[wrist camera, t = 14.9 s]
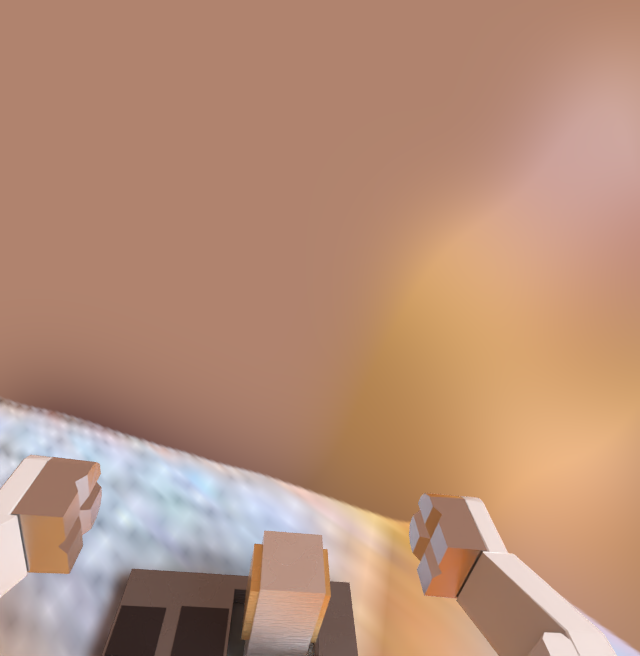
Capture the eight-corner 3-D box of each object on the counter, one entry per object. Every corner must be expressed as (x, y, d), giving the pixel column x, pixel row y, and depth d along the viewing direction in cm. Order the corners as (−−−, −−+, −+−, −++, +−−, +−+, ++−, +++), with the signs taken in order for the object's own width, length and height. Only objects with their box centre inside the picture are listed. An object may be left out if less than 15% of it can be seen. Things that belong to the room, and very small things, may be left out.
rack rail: (84, 722, 30) (82, 708, 29) (132, 582, 39) (132, 567, 38) (358, 727, 33) (365, 714, 32) (344, 595, 41) (349, 582, 41)
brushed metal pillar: (233, 680, 34) (251, 588, 28) (240, 620, 38) (256, 530, 32) (304, 683, 34) (334, 594, 29) (303, 623, 38) (329, 535, 33)
